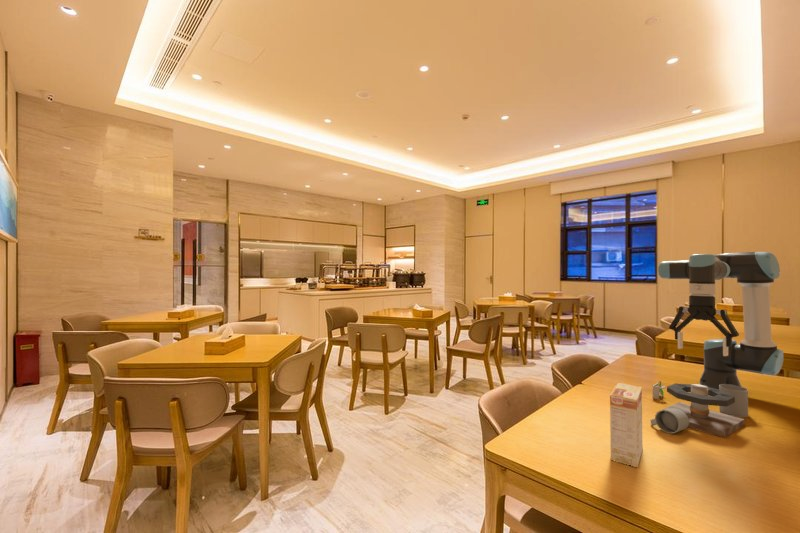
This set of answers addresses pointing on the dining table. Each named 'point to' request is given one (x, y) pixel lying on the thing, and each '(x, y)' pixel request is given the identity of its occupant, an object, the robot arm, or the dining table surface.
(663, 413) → the ceramic mug
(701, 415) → the pipe stand
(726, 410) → the cup
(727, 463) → the dining table surface
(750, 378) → the dining table surface
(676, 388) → the ring
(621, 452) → the coffeecake box
